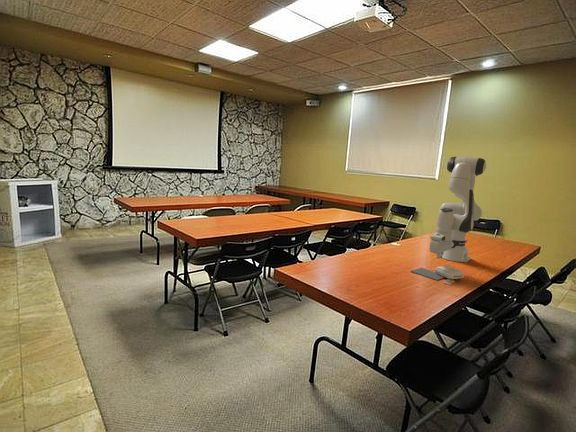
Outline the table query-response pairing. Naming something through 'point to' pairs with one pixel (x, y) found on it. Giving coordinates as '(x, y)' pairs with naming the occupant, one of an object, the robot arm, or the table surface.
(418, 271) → the mat
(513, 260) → the table surface
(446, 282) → the turner
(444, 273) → the photo printer
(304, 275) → the table surface
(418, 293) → the table surface
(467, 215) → the robot arm
